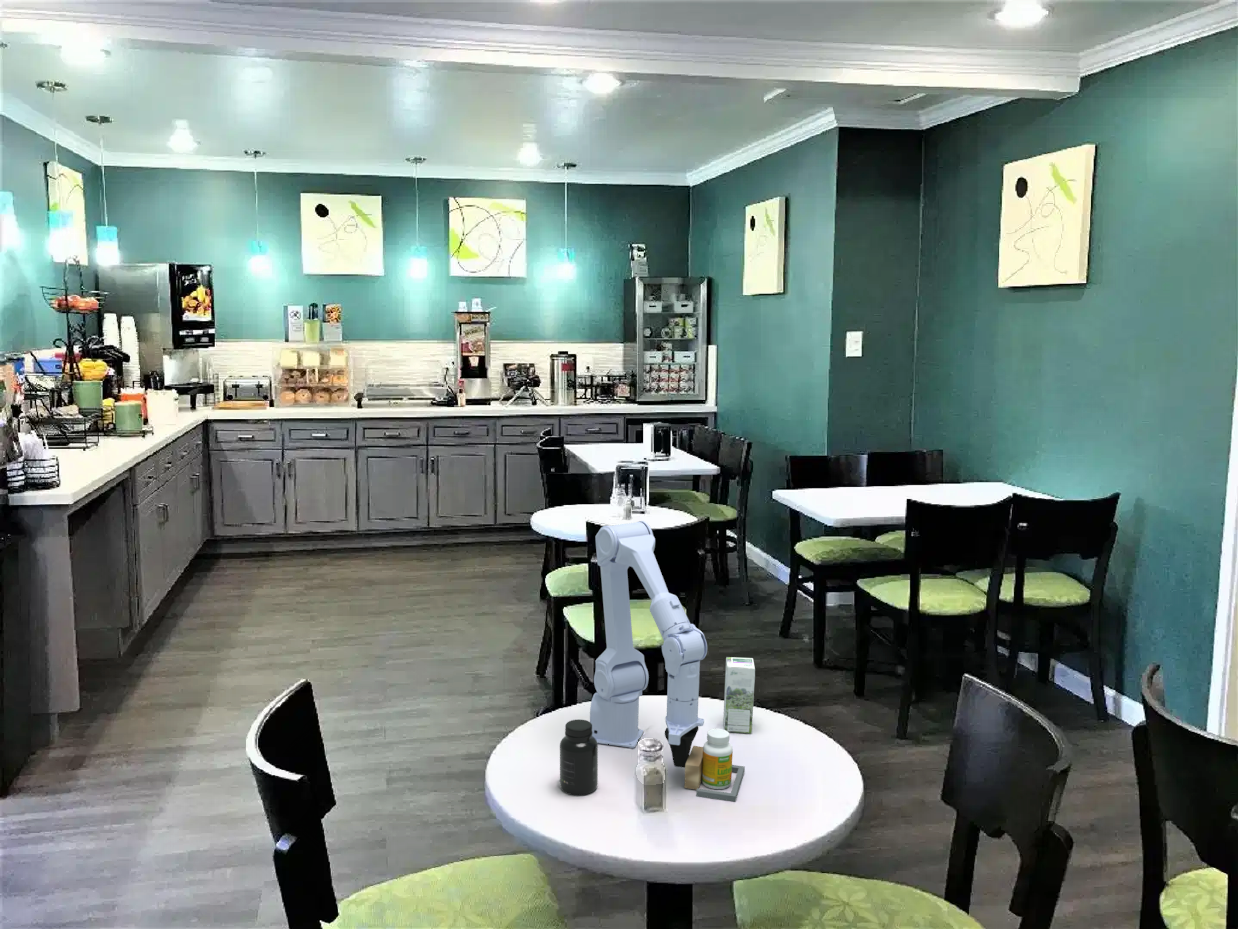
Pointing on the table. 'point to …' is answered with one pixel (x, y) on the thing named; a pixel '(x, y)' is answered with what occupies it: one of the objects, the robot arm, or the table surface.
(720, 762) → the supplement bottle
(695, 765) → the bar
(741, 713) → the syrup box
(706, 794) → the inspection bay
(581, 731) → the supplement bottle
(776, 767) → the table surface
